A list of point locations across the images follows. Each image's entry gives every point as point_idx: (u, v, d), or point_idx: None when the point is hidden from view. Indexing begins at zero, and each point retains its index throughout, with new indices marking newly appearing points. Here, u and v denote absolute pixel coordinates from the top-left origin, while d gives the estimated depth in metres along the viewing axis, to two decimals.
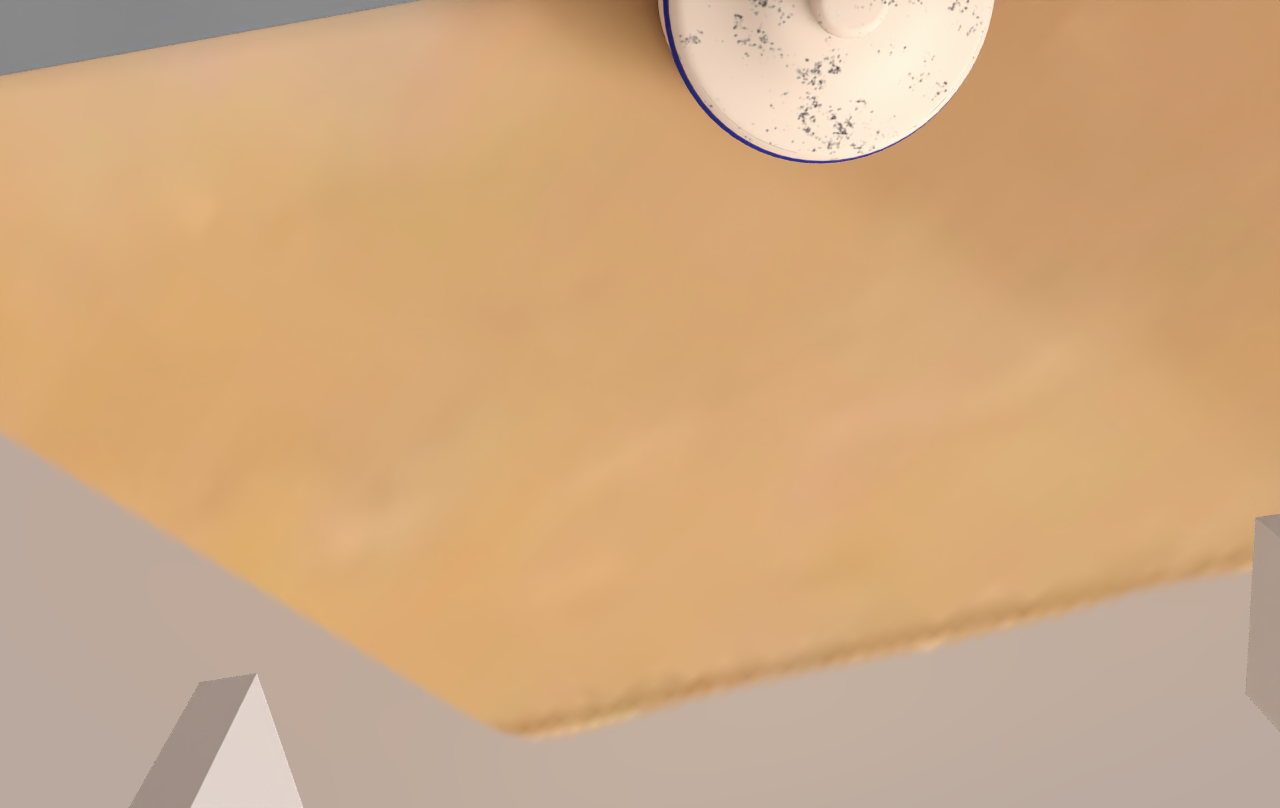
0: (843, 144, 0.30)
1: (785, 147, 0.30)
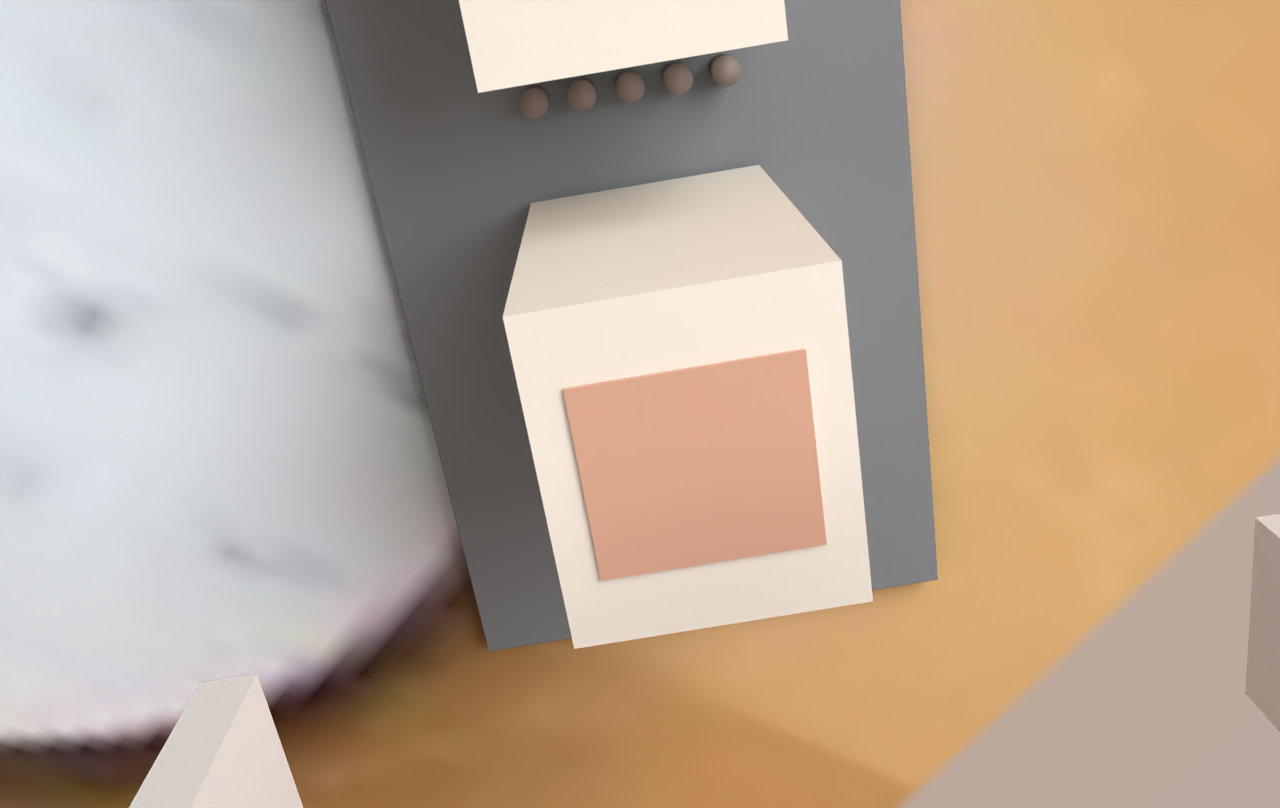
0: None
1: None
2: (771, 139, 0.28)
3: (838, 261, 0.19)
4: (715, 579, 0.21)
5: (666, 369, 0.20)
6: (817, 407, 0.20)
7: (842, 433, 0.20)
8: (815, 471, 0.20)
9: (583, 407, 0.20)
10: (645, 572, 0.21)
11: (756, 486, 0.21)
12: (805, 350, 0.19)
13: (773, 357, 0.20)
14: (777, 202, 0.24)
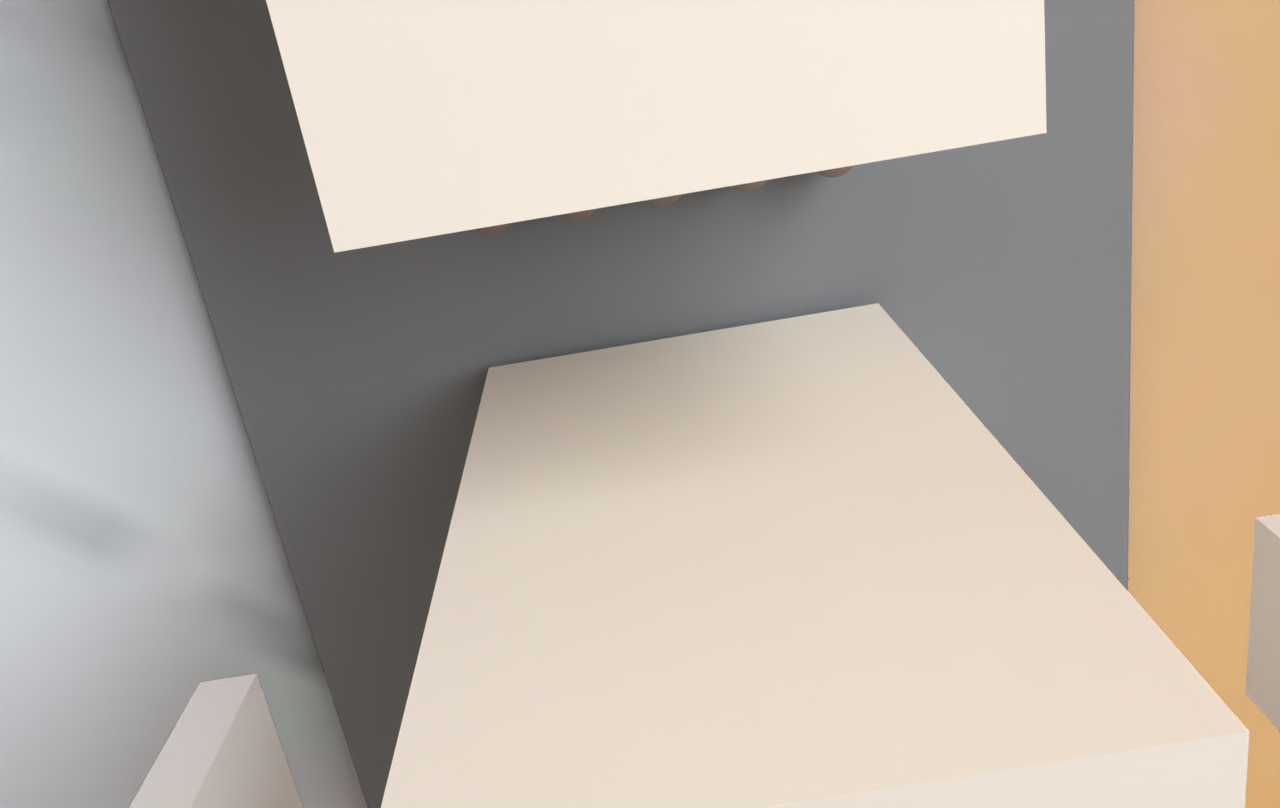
0: None
1: None
2: (898, 260, 0.17)
3: (1241, 734, 0.07)
4: None
5: None
6: None
7: None
8: None
9: None
10: None
11: None
12: None
13: None
14: (958, 427, 0.12)
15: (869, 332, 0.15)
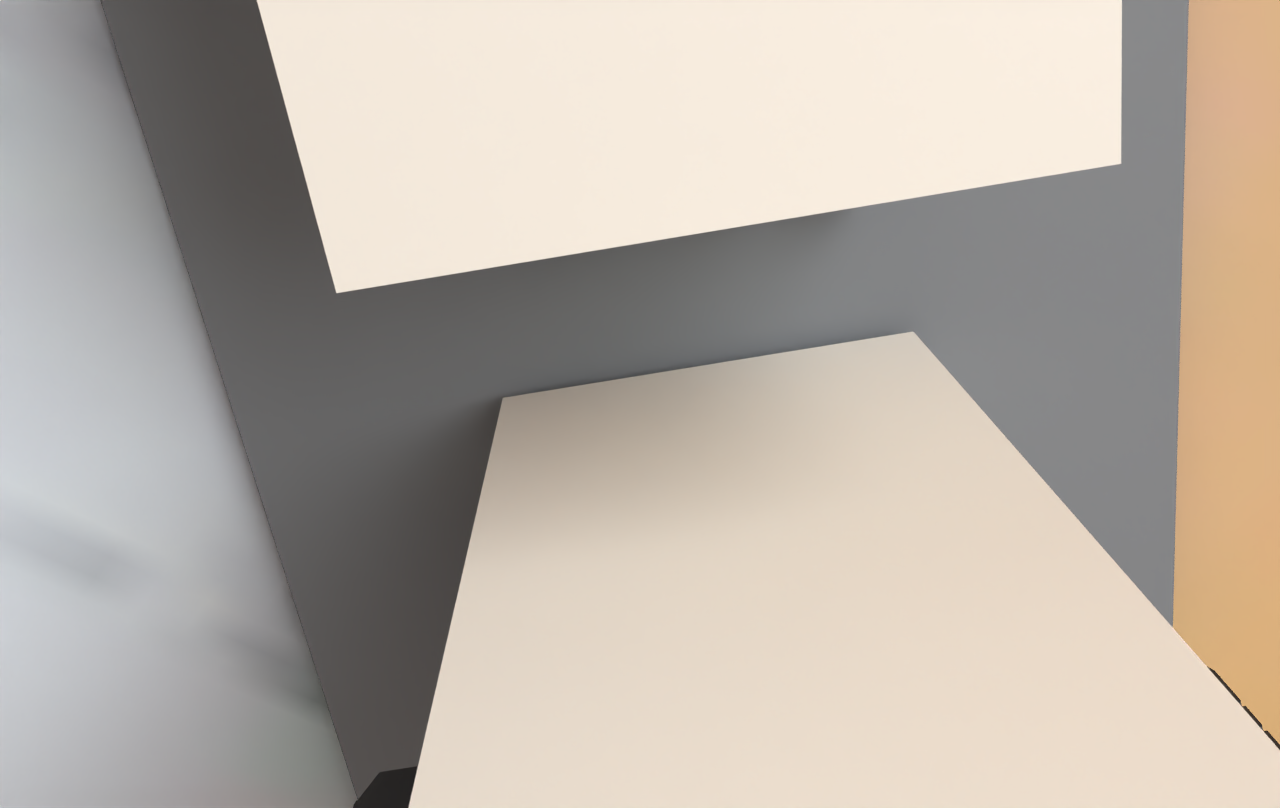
0: None
1: None
2: (934, 285, 0.16)
3: None
4: None
5: None
6: None
7: None
8: None
9: None
10: None
11: None
12: None
13: None
14: (1007, 473, 0.11)
15: (905, 364, 0.15)
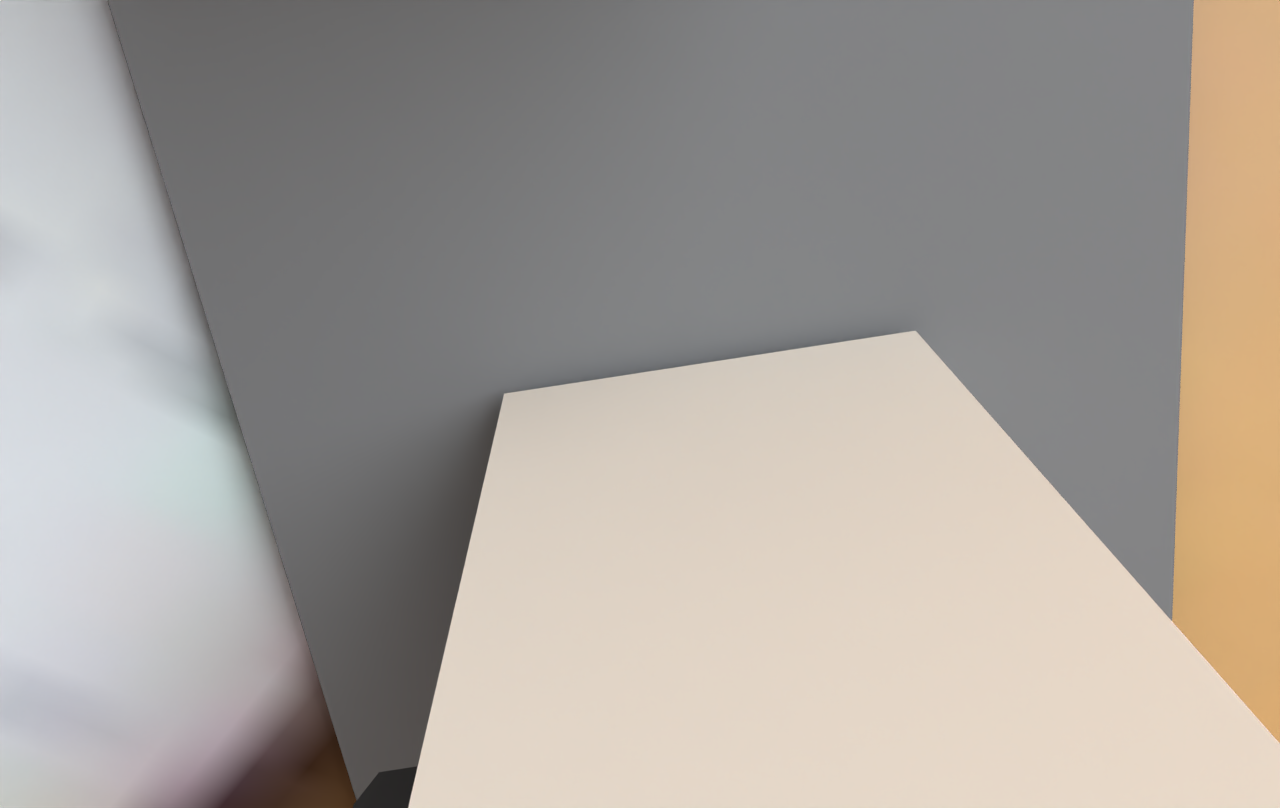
0: None
1: None
2: None
3: None
4: None
5: None
6: None
7: None
8: None
9: None
10: None
11: None
12: None
13: None
14: (1010, 472, 0.11)
15: (907, 362, 0.15)
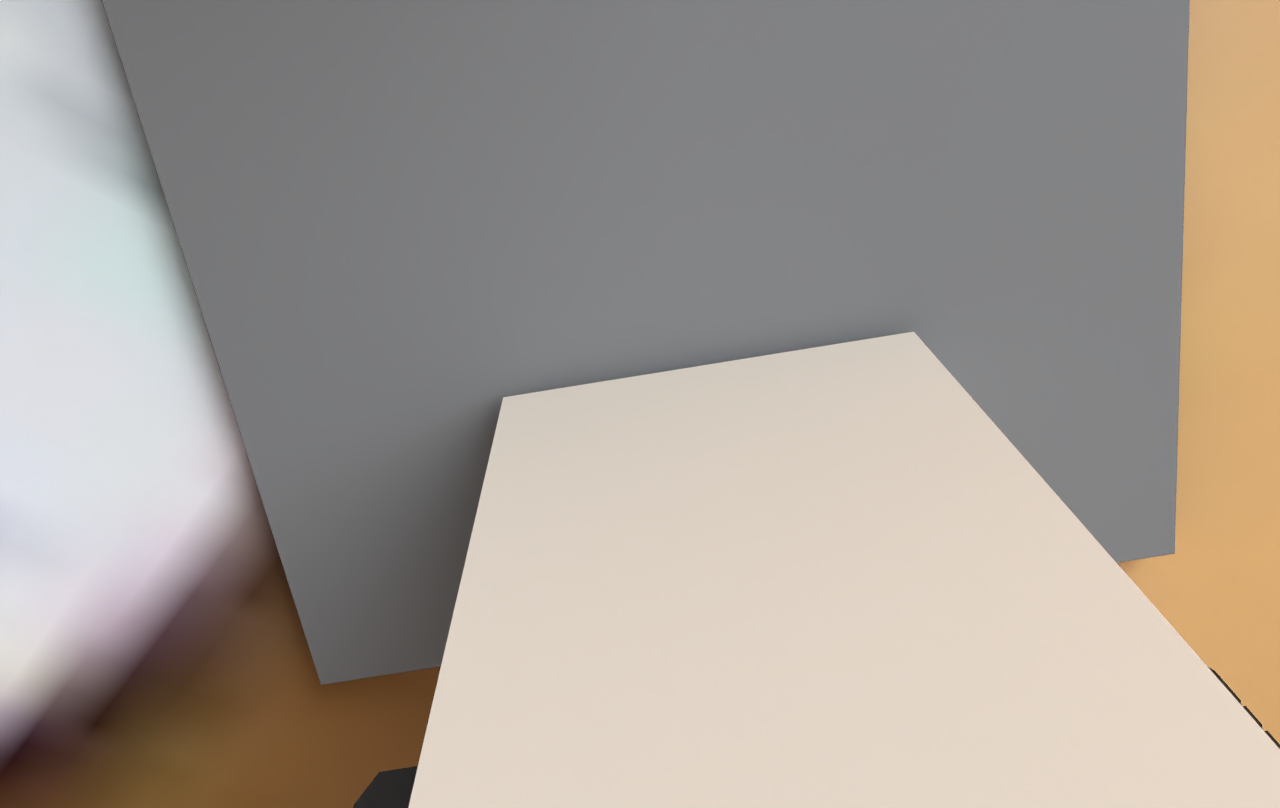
0: None
1: None
2: None
3: None
4: None
5: None
6: None
7: None
8: None
9: None
10: None
11: None
12: None
13: None
14: (1008, 473, 0.11)
15: (906, 364, 0.15)
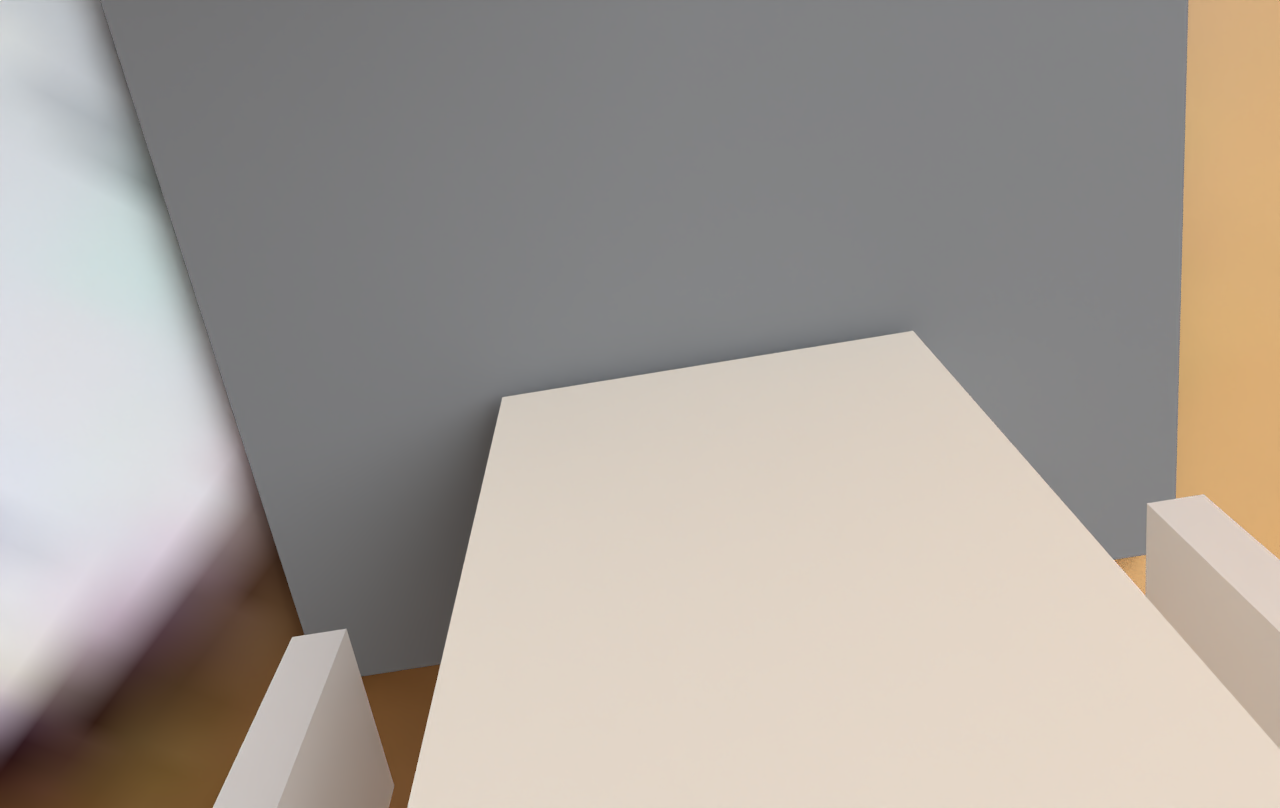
0: None
1: None
2: None
3: None
4: None
5: None
6: None
7: None
8: None
9: None
10: None
11: None
12: None
13: None
14: (1007, 472, 0.11)
15: (905, 363, 0.15)
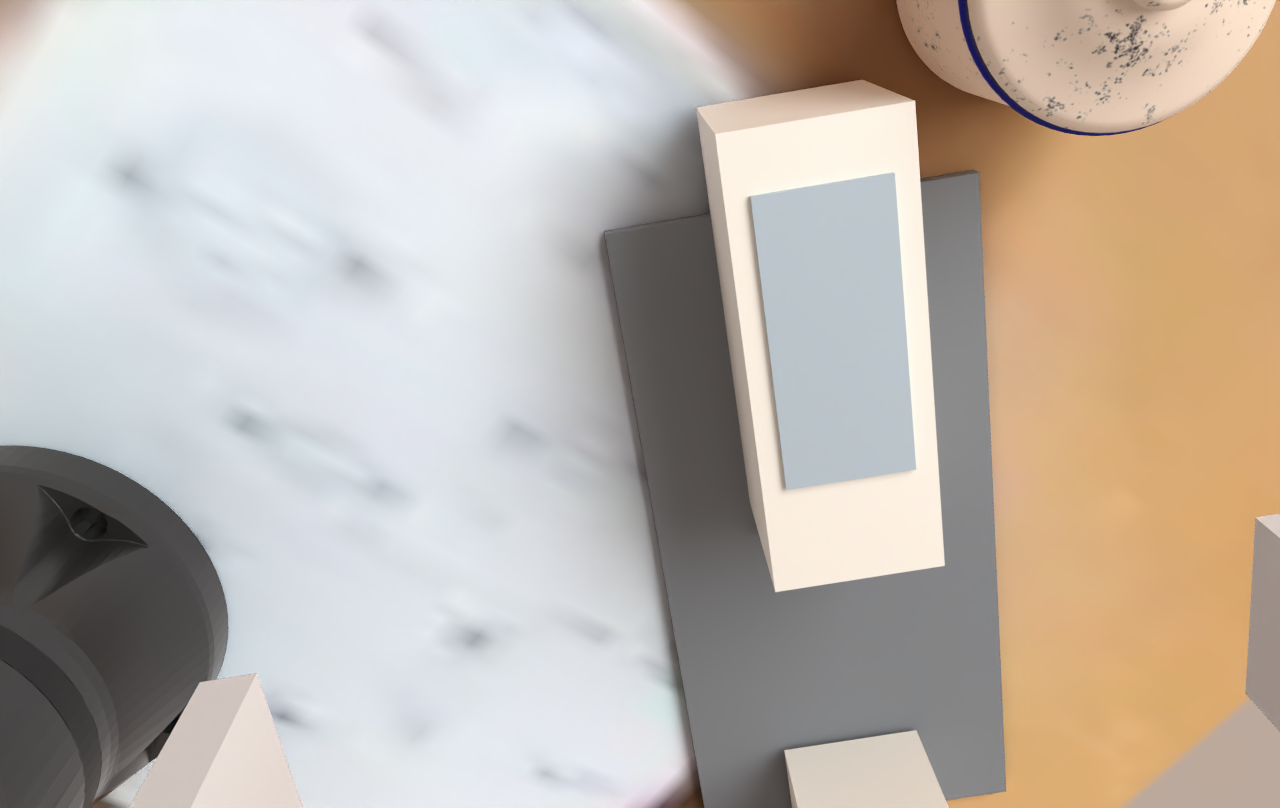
0: None
1: (1266, 14, 0.30)
2: None
3: None
4: None
5: None
6: None
7: None
8: None
9: None
10: None
11: None
12: None
13: None
14: (940, 805, 0.45)
15: (914, 749, 0.48)
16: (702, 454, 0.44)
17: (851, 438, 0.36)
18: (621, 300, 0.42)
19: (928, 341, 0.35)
